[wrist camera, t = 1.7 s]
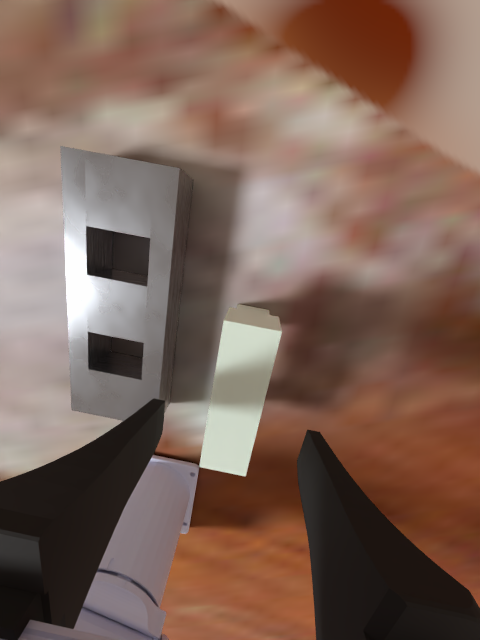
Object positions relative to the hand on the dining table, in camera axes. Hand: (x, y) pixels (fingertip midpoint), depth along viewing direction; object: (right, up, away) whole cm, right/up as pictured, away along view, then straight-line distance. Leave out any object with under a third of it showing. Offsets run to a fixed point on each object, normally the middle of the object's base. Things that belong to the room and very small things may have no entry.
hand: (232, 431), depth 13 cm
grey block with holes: (-8, +7, +7) cm, 13 cm away
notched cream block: (+1, +3, +8) cm, 8 cm away
